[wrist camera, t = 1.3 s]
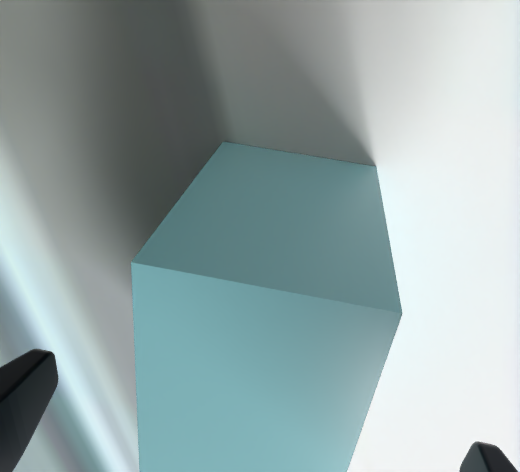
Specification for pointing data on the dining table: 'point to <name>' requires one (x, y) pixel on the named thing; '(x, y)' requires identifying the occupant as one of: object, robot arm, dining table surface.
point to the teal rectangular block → (263, 316)
